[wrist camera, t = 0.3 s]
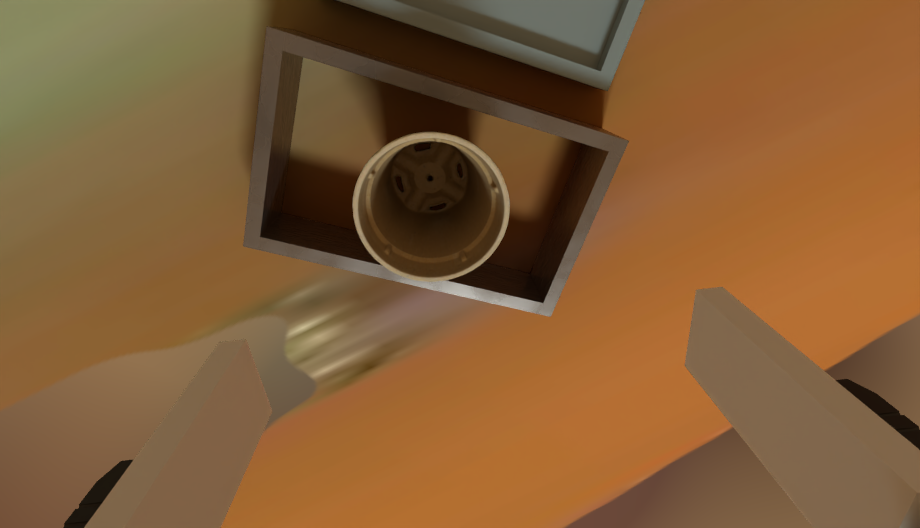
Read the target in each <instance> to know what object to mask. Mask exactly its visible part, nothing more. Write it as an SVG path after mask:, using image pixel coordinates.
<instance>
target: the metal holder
mask: <svg viewBox="0 0 920 528" xmlns="http://www.w3.org/2000/svg"><path fill="white" fill-rule="evenodd" d="M303 57H305V58H308V59H311V60H314V61H317V62H321V63H324V64H327V65H330V66H334V67H337V68H340V69H343V70H347V71H350V72H353V73H356V74H360V75H363V76H366V77H369V78H372V79H376V80H379V81H382V82H385V83H389V84H392V85H395V86H398V87H402V88H405V89H408V90H411V91H415V92H418V93H421V94H424V95H427V96H431V97H434V98H437V99H440V100H444V101H447V102H450V103H453V104H457V105H460V106H463V107H466V108H470V109H473V110H476V111H479V112H482V113H486V114H489V115H492V116H495V117H499V118H502V119H505V120H508V121H512V122H515V123H518V124H521V125H525V126H528V127H531V128H534V129H537V130H541V131H544V132H547V133H550V134H554V135H557V136H560V137H563V138H567V139H570V140H573V141H576V142H579V143H583V144H582V147H581V149H580V152H579V154H578V156H577V159H576V161H575V164H574V166H573V169H572V171H571V174H570V176H569V179H568V181H567V184H566V186H565V189H564V191H563V194H562V196H561V198H560V201H559V203H558V206H557V208H556V211H555V213H554V216H553V218H552V221H551V223H550V226H549V228H548V231H547V233H546V236H545V238H544V240H543V243H542V245H541V248H540V250H539V253H538V255H537V258H536V260H535V263H534V265H533V268H532V270H531V273H530V274H529V273H525V272H521V271H517V270H513V269H509V268H505V267H501V266H497V265H492V264H488V263H484V262H483V263H482V264H481V265H480V266H478V267H477V268H475V269H474V270H472V271H470V272H468V273H466V274H464V275H462V276H459V277H456V278H453V279H449V280H445V281H436V282H426V281H416V280H412V279H409V278H405V277H402V276H400V275H398V274H396V273H393V272H392V271H390V270H388V269H387V268H385V267H384V266H383V265H382V264H380V263H379V262H378V261H377V260H375V259H374V257H373V256H372V255H371V254H370V253H369V252H368V250H367V249H366V248H365V246H364V244H363V243H362V241H361V239H360V237H359V234H358V232H357V231H354V230H350V229H346V228H342V227H338V226H334V225H330V224H326V223H321V222H317V221H313V220H309V219H305V218H301V217H297V216H293V215H289V214H285V213H281V211H282V204H283V196H284V189H285V182H286V175H287V168H288V161H289V154H290V146H291V139H292V132H293V125H294V118H295V111H296V103H297V96H298V89H299V82H300V75H301V68H302V60H303ZM628 142H629V141H628V140H626V139H624V138H621V137H619V136H617V135H615V134H613V133H611V132H609V131H607V130H604V129H602V128H599V127H596V126H593V125H590V124H587V123H583V122H580V121H577V120H574V119H571V118H568V117H565V116H561V115H558V114H555V113H552V112H549V111H546V110H543V109H539V108H536V107H533V106H530V105H527V104H524V103H521V102H517V101H514V100H511V99H508V98H505V97H502V96H499V95H495V94H492V93H489V92H486V91H483V90H480V89H477V88H473V87H470V86H467V85H464V84H461V83H458V82H455V81H452V80H448V79H445V78H442V77H439V76H436V75H433V74H430V73H426V72H423V71H420V70H417V69H414V68H411V67H408V66H404V65H401V64H398V63H395V62H392V61H389V60H386V59H382V58H379V57H376V56H373V55H370V54H367V53H364V52H360V51H357V50H354V49H351V48H348V47H345V46H342V45H339V44H335V43H332V42H329V41H326V40H323V39H320V38H317V37H313V36H310V35H307V34H304V33H301V32H298V31H295V30H291V29H284V28H276V27H268V26H267V28H266V37H265V47H264V56H263V65H262V75H261V84H260V94H259V103H258V112H257V122H256V131H255V141H254V150H253V159H252V169H251V178H250V188H249V197H248V206H247V216H246V225H245V235H244V244H243V246H244V247H248V248H253V249H257V250H261V251H266V252H270V253H274V254H279V255H283V256H287V257H292V258H296V259H301V260H305V261H309V262H314V263H318V264H322V265H327V266H331V267H336V268H340V269H344V270H349V271H353V272H357V273H362V274H366V275H370V276H375V277H379V278H384V279H388V280H392V281H397V282H401V283H405V284H410V285H414V286H419V287H423V288H427V289H432V290H436V291H440V292H445V293H449V294H453V295H458V296H462V297H467V298H471V299H475V300H480V301H484V302H488V303H493V304H497V305H501V306H506V307H510V308H515V309H519V310H523V311H528V312H532V313H536V314H541V315H545V316H550V317H551V315H552V312H553V310H554V308H555V306H556V303H557V301H558V299H559V297H560V294H561V292H562V290H563V288H564V285H565V283H566V281H567V279H568V276H569V274H570V272H571V270H572V268H573V265H574V263H575V261H576V259H577V256H578V254H579V252H580V250H581V247H582V245H583V243H584V241H585V238H586V236H587V234H588V232H589V229H590V227H591V225H592V223H593V220H594V218H595V216H596V214H597V211H598V209H599V207H600V205H601V202H602V200H603V198H604V196H605V193H606V191H607V189H608V187H609V185H610V182H611V180H612V178H613V176H614V173H615V171H616V169H617V167H618V164H619V162H620V160H621V158H622V155H623V153H624V151H625V149H626V146H627V144H628Z"/></svg>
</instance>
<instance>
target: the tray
mask: <svg viewBox="0 0 920 528" xmlns="http://www.w3.org/2000/svg"><path fill="white" fill-rule="evenodd" d="M336 1H339V2H342V3H345V4H348V5H351V6H353V7H356V8H359V9H362V10H365V11H368V12H371V13H374V14H377V15H380V16H383V17H386V18H389V19H392V20H395V21H398V22H401V23H404V24H407V25H410V26H413V27H416V28H419V29H422V30H425V31H428V32H431V33H434V34H437V35H440V36H443V37H446V38H449V39H452V40H455V41H458V42H461V43H464V44H467V45H470V46H473V47H476V48H479V49H482V50H485V51H488V52H490V53H493V54H496V55H499V56H502V57H505V58H508V59H511V60H514V61H517V62H520V63H523V64H526V65H529V66H532V67H535V68H538V69H541V70H544V71H547V72H550V73H553V74H556V75H559V76H562V77H565V78H568V79H571V80H574V81H577V82H580V83H583V84H586V85H589V86H592V87H595V88H598V89H602V90H606V91H608V90H609V87H610V85H611V82H612V80H613V77H614V75H615V72H616V70H617V67H618V65H619V63H620V60H621V58H622V55H623V53H624V50H625V48H626V45H627V43H628V41H629V38H630V36H631V33H632V31H633V28H634V26H635V23H636V21H637V19H638V16H639V14H640V11H641V9H642V6H643V4H644V1H645V0H336Z"/></svg>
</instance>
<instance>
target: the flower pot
mask: <svg viewBox="0 0 920 528" xmlns="http://www.w3.org/2000/svg"><path fill="white" fill-rule="evenodd" d="M425 143H429V144H431V147H430V149H425V150H420V151H418V152H417V151H416V150H415V146H416V145H417V144H425ZM458 164H460V165H461V169H462V177H461V178H460V177H459V173H458V172H457V171H456V170H457V169H458V168H457V165H458ZM397 176H400V177H401V180H402V185H403V188H404V191H402V192H401V190H400V189H399V187H398V185H397V182H396V179H395V177H397ZM429 176H432V177H433V179H432V181H429V180H428V179H427V178H428V177H429ZM443 203H445V205H446V206H445V207H444V208H442V209H439V210H431V209H430V207H431V206H436V205H440V204H443ZM509 212H510V201H509V195H508V190H507V187H506V184H505V181H504V178H503V176H502V174H501V172H500V170H499V169H498V167H497V166H496V164H495V163H494V162H493V160H492V159H491V158H490V157H489V156H488V155H487V154H486V153H485V152H484V151H483V150H481V149H480V148H479V147H477V146H476V145H474V144H473V143H471V142H469V141H467V140H465V139H463V138H461V137H458V136H455V135H451V134H447V133H440V132H419V133H413V134H409V135H406V136H403V137H400V138H398V139H396V140H394V141H392V142H390V143H388V144H387V145H385V146H384V147H382V148H381V149H380V150H379V151H377V152H376V153H375V154H374V155H373V156H372V157H371V159H370V160H369V161H368V162H367V164H366V165H365V166H364V168H363V170H362V172H361V173H360V175H359V177H358V180H357V182H356V185H355V189H354V194H353V218H354V222H355V226H356V229H357V232H358V234H359V237H360V239H361V241H362V243H363V244H364V246H365V248H366V249H367V250H368V252H369V253H370V254H371V255H372V256H373V257H374V259H375V260H377V261H378V262H379V263H380V264H382V265H383V266H384V267H385V268H387V269H388V270H390V271H392V272H393V273H396V274H398V275H400V276H402V277H405V278H409V279H412V280H416V281H426V282H436V281H445V280H449V279H453V278H456V277H459V276H462V275H464V274H466V273H468V272H470V271H472V270H474V269H475V268H477V267H478V266H480V265H481V264H482V263H483V262H485V261H486V260H487V259H488V258H489V257H490V256H491V255H492V253H493V252H494V251H495V250H496V248H497V247H498V245H499V244H500V242H501V240H502V238H503V236H504V234H505V231H506V229H507V225H508V220H509Z"/></svg>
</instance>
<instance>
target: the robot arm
mask: <svg viewBox="0 0 920 528" xmlns="http://www.w3.org/2000/svg"><path fill="white" fill-rule="evenodd" d="M685 367H686V368H687V369H688V370H689V372H690V373H691V374H692V375H693V377H694V378H695V379H696V380H697V382H698V383H699V384H700V386H701V387H702V388H703V389H704V391H705V392H706V393H707V394H708V396H709V397H710V398H711V399H712V401H713V402H714V403H715V404H716V406H717V407H718V408H719V409H720V411H721V412H722V413H723V415H724V416H725V417H726V418H727V420H728V421H729V422H730V423H731V425H732V426H733V427H734V428H735V430H736V431H737V432H738V433H739V435H740V436H741V437H742V439H743V440H744V441H745V442H746V444H747V445H748V446H749V447H750V449H751V450H752V451H753V452H754V454H755V455H756V456H757V457H758V459H759V460H760V461H761V462H762V464H763V465H764V466H765V468H766V469H767V470H768V471H769V473H770V474H771V475H772V476H773V478H774V479H775V480H776V481H777V483H778V484H779V485H780V486H781V488H782V489H783V490H784V492H786V494H787V495H788V497H789V498H790V499H791V500H792V502H793V503H794V504H795V505H796V507H797V508H798V509H799V510H800V512H801V513H802V514H803V515H804V517H805V518H806V519H807V521H808V522H809V523H810V524H811V526H812V527H813V528H920V430H919V427H918V426H917V425H916V424H915V423H913V422H912V421H911V420H910V419H908V418H907V417H906V416H904V415H900V413H899V411H898V410H897V409H895V408H894V407H893V406H892V405H890V404H889V403H888V402H886V401H885V400H884V399H883V398H881V397H880V396H879V395H878V394H876V393H874V392H872V391H870V390H868V389H866V388H864V387H862V386H860V385H858V384H856V383H854V382H852V381H850V380H848V379H842V380H834V379H833V378H832V377H831V376H829V375H828V374H827V373H826V372H825V371H823V370H822V369H821V368H820V367H819V366H817V365H816V364H815V363H814V362H813V361H811V360H810V359H809V358H808V357H807V356H805V355H804V354H803V353H802V352H800V351H799V350H798V349H797V348H796V347H794V346H793V345H792V344H791V343H790V342H788V341H787V340H786V339H785V338H783V337H782V336H781V335H780V334H779V333H777V332H776V331H775V330H774V329H773V328H771V327H770V326H769V325H768V324H767V323H765V322H764V321H763V320H762V319H760V318H759V317H758V316H757V315H756V314H754V313H753V312H752V311H751V310H750V309H748V308H747V307H746V306H745V305H744V304H742V303H741V302H740V301H739V300H737V299H736V298H735V297H734V296H733V295H731V294H730V293H729V292H728V291H727V290H725V289H724V288H723V287H718V288H708V289H699V290H696V295H695V301H694V308H693V314H692V321H691V327H690V334H689V340H688V347H687V353H686V360H685ZM271 413H272V409H271V406H270V404H269V401H268V398H267V395H266V393H265V390H264V387H263V384H262V382H261V379H260V376H259V373H258V371H257V368H256V365H255V362H254V360H253V357H252V354H251V352H250V349H249V346H248V343H247V341H246V339H244V340H235V341H225V342H219V344H218V345H217V346H216V348H215V349H214V350H213V352H212V353H211V355H210V356H209V357H208V359H207V360H206V361H205V363H204V364H203V366H202V367H201V368H200V370H199V371H198V372H197V374H196V375H195V376H194V378H193V379H192V381H191V382H190V383H189V385H188V386H187V388H186V389H185V390H184V392H183V393H182V394H181V396H180V397H179V398H178V400H177V401H176V403H175V404H174V405H173V407H172V408H171V410H170V411H169V412H168V414H167V415H166V416H165V418H164V419H163V420H162V422H161V423H160V424H159V426H158V427H157V429H156V430H155V431H154V433H153V434H152V436H151V437H150V438H149V439H148V441H147V442H146V444H145V445H144V446H143V448H142V449H141V451H140V452H139V453H138V455H137V456H136V458H135V459H134V460H126V461H121V462H119V463H118V464H117V465H116V466H115V467H114V468H112V469H111V470H110V471H109V472H108V473H106V474H105V475H104V476H103V477H102V478H101V479H99V480H98V481H97V482H96V483H95V485H94V486H93V487H92V489H91V490H90V491H89V492H88V494H87V495H86V496H85V498H84V499H83V500H82V501H81V503H80V504H79V508H78V509H75V511H74V512H73V513H72V514H71V516H70V517H69V518H68V520H67V521H66V522H65V523H64V528H221V525H222V523H223V521H224V519H225V516H226V514H227V512H228V510H229V507H230V505H231V503H232V501H233V498H234V496H235V494H236V492H237V489H238V487H239V485H240V483H241V480H242V478H243V476H244V474H245V471H246V469H247V467H248V465H249V462H250V460H251V458H252V456H253V453H254V451H255V449H256V447H257V444H258V442H259V440H260V438H261V435H262V433H263V431H264V429H265V427H266V424H267V422H268V420H269V418H270V415H271Z"/></svg>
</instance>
